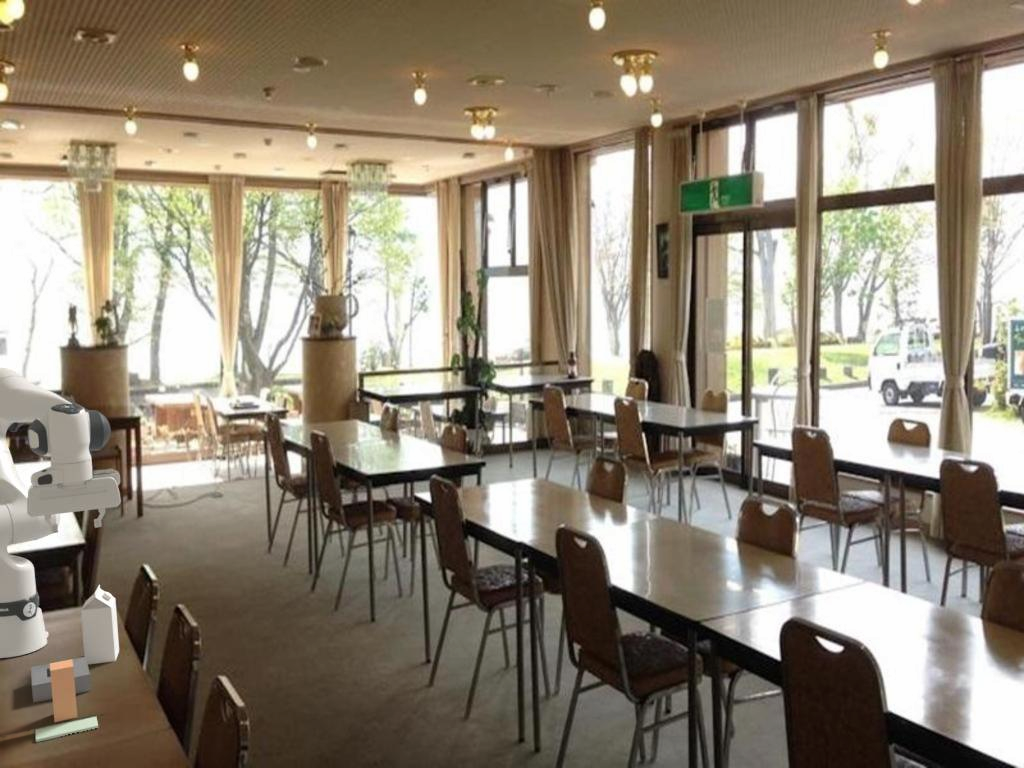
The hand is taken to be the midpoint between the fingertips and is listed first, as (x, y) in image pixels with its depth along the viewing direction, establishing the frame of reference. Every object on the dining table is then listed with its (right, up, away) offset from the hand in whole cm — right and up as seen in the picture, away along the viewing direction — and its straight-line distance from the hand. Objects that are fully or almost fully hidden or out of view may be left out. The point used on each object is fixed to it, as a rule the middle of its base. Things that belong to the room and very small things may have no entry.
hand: (76, 529), depth 221 cm
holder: (-2, -38, -3) cm, 38 cm away
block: (+6, -39, -17) cm, 43 cm away
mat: (+6, -39, -17) cm, 43 cm away
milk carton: (0, -36, +14) cm, 39 cm away
